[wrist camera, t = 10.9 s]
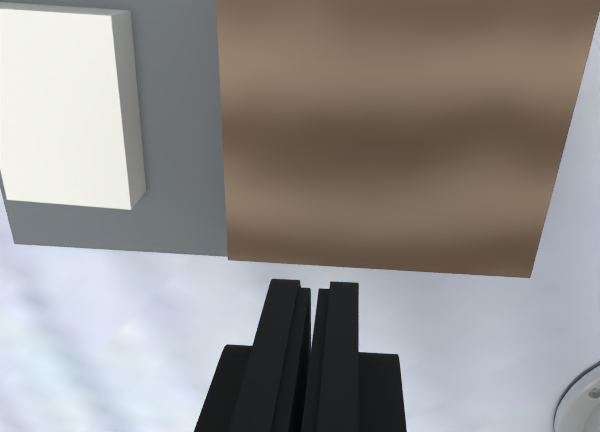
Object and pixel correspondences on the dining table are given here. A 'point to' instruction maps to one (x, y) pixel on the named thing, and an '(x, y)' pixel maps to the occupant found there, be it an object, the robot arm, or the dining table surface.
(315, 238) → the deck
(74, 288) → the dining table surface
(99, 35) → the cream box
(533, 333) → the dining table surface
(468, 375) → the dining table surface
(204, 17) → the mat
